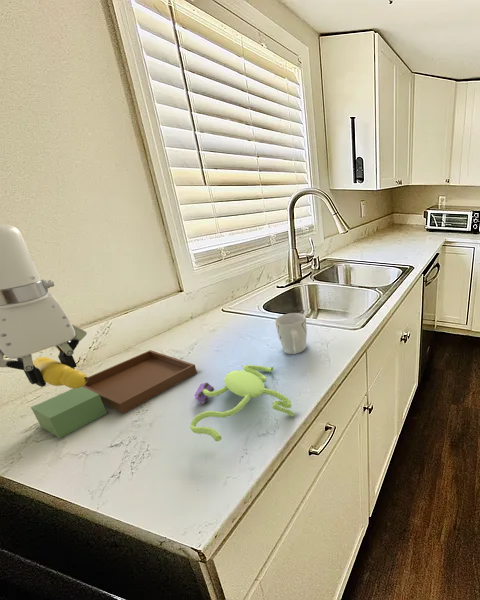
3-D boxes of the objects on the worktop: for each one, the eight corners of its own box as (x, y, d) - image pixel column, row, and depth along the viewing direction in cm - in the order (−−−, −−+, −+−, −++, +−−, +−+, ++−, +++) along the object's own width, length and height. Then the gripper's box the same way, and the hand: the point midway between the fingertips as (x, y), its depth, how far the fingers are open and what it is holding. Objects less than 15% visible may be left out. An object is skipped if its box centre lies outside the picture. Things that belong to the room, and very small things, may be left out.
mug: (314, 356, 93) (310, 325, 89) (283, 364, 90) (278, 331, 86) (306, 339, 103) (302, 310, 99) (278, 346, 99) (273, 316, 96)
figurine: (197, 464, 59) (189, 440, 57) (192, 388, 80) (187, 369, 78) (299, 424, 68) (295, 402, 66) (271, 365, 89) (267, 347, 87)
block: (40, 426, 68) (30, 407, 66) (87, 403, 75) (79, 385, 73) (59, 438, 65) (49, 418, 63) (106, 413, 72) (99, 394, 70)
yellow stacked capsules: (23, 375, 68) (16, 358, 67) (51, 366, 72) (45, 350, 70) (65, 397, 61) (58, 378, 60) (93, 385, 65) (87, 367, 64)
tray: (78, 392, 79) (74, 383, 78) (153, 357, 94) (150, 349, 93) (123, 413, 72) (119, 404, 71) (197, 372, 86) (194, 364, 85)
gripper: (64, 278, 68) (95, 354, 75) (-66, 307, 54) (-13, 397, 61) (83, 282, 65) (114, 361, 72) (-49, 313, 51) (4, 408, 58)
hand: (55, 377), depth 66 cm, fingers closed on yellow stacked capsules, 4 cm apart
